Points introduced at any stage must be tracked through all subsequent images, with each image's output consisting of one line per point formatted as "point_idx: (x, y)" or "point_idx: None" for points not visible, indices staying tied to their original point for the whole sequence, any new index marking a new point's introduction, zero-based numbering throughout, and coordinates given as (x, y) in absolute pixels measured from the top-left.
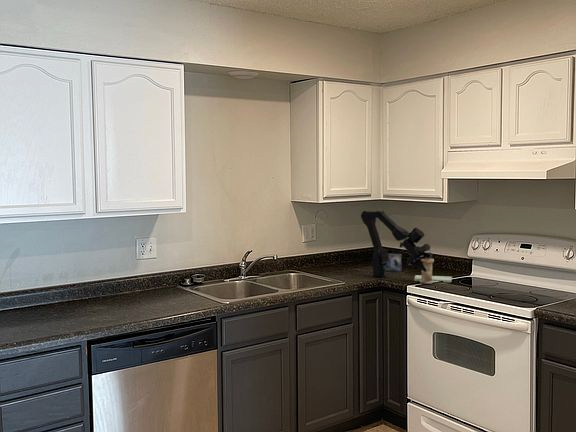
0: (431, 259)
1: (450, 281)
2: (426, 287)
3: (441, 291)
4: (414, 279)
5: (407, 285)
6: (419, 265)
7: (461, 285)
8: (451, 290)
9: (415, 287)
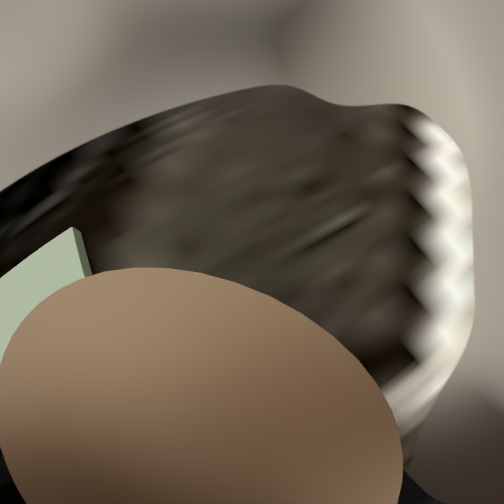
0: (115, 357)
1: (78, 236)
2: (401, 272)
3: (422, 139)
4: None
5: (422, 421)
6: None
7: (149, 133)
8: (354, 107)
9: (450, 332)
